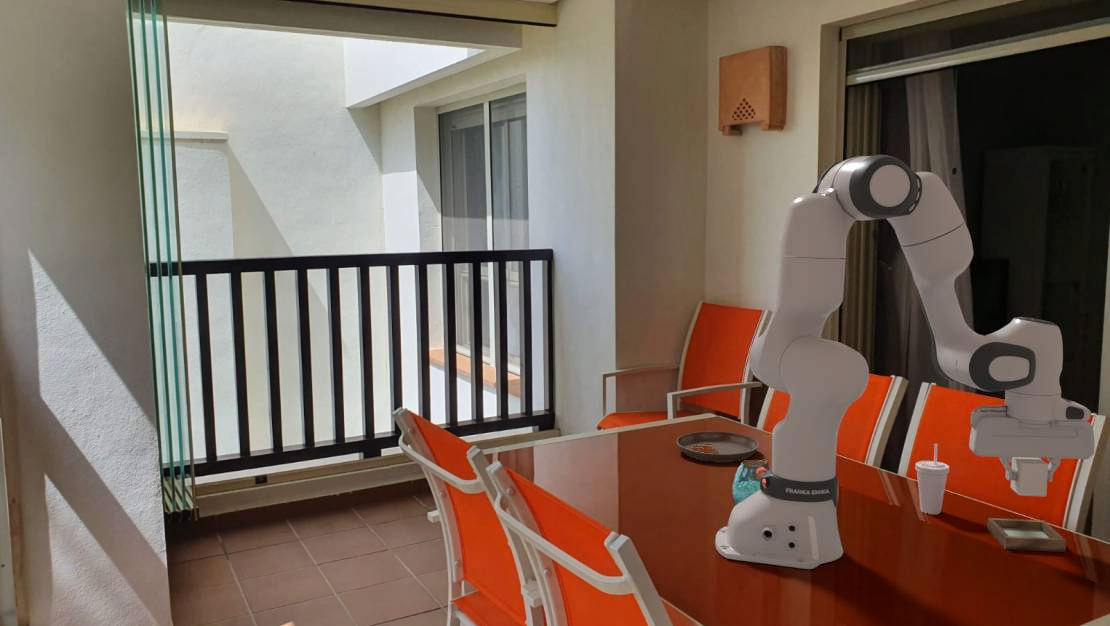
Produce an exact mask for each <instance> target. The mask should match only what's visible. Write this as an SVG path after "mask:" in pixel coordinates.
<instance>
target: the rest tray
mask: <svg viewBox="0 0 1110 626" xmlns="http://www.w3.org/2000/svg"><path fill="white" fill-rule="evenodd" d="M986 523H987V525H986V530H987V531H988V532H989V533H990V534H991V536H992V537H993V538H994V539H995V540H996V541H997V542H998V544H1000V545H1001V546H1002V548H1004V549H1005V550H1013V551H1014V550H1015V551H1034V552H1037V551H1038V552H1049V553H1050V552H1053V553H1054V552H1055V553H1066V551H1067V549H1066V548H1067V540H1066V538H1064V536H1062V535H1061V534H1060V533H1059V532H1058V531H1056V530H1055V529H1054V528H1053V527H1052V526H1051V525H1050V524H1049V523H1047V521H1045V520H1041V519H1040V520H1039V519H1016V518H1015V519H1014V518H998V517H997V518H994V517H987V522H986Z"/></svg>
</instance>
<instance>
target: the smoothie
mask: <svg viewBox="0 0 1110 626" xmlns="http://www.w3.org/2000/svg"><path fill="white" fill-rule="evenodd" d="M933 449H934V451H933V460H920V461H917V462H916V463H915V467H914V468H915V470H916V475H917V486H918V496H919V507H920V512H921V513H923V512H924V514H927V513H928V515H939V513H940V514H941V512H942V511H941V510H942V506H943V501H944V496H945V490H946V483H947V478H948V473H950V466H949V465H948V464H946V463H944V462H942V461H941V462H940V461H938V443H934V448H933Z"/></svg>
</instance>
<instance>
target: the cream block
mask: <svg viewBox="0 0 1110 626" xmlns="http://www.w3.org/2000/svg"><path fill="white" fill-rule="evenodd" d="M1048 465H1049V463H1047V462H1046V461H1044V460H1043V458H1028V457H1012V462H1011V469H1015V470H1016V471H1017V472H1018V475H1017V480H1010V488H1011V490H1013V491H1014V492H1015V494H1017V495H1019V496H1024V497H1026V496H1027V497H1028V496H1029V497H1047V490H1048V489H1047V488H1048V482H1047V473H1048Z"/></svg>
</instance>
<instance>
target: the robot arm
mask: <svg viewBox="0 0 1110 626" xmlns="http://www.w3.org/2000/svg"><path fill="white" fill-rule="evenodd" d="M784 220H785V221H784V225H783V230H782V235H781V241H780V242H781V243H780V253H779V255H780V256H779V267H778V269H779V270H778V280H777V291H776V292H777V293H776V299H775V304H774V307H773V311H772V313H771V317H770V319H769V322H768V324H767V326H766V328H765V330H764V331H763V333H762V334H761V335H760V336H759V337H757V339H755V341H754V342H753V344H752V345H751V347H750V350H749V354H748V365H749V366H748V367H749V369H750V371H751V373H752V374H753V375H754V377H755V378H756V379H757V380H759V381H760V382H761V383H763V384H765V385H766V386H767V387H769V388H771V389H773V390H776V391H779V392H782V393H786V394H789V395H790V396H789V397H790V400H789V405H788V409H787V411H786V412H787V413H786V415H785V417H784V419H781V420H780V421H778V422H777V423H776V424H775V426H774V427H773V429H772V433H771V435H772V436H771V437H772V438H771V468H770V469H767V468H765V467H763V466H760V467H758V468H757V469H756V472H755V474H756V477H757V479H758V480H759V489H758V490H757V491H755V492H753V493H752V494H751V495H749V496H747V498H745V499H743V500H742V501H740V502H738V503H736V504H735V506H734V507H733V508H732V509H731V512H730V515H729V518H728V522H727V526H723V527H722V528H720V529H719V530H718V531H717V533H716V534H715V541H714V545H715V548H716V550H717V552H718V554H720V555H721V556H722V557H724V558H725V559H728V560H729V559H730V560H735V561H743V562H751V563H757V564H758V563H759V564H767V565H774V566H781V567H788V568H789V567H790V568H797V569H803V570H805V569H806V570H812V569H816V568H817V567H818V566H820V565H821V564H827V563H829V562H833V561H837V560H838V559H840V558H841V557H842V556H843V554H844V549H843V545H842V542H841V538H840V537H841V536H840V532H839V527H838V518H837V506H838V501H839V480H838V479H839V477H838V475H837V473H836V469H837V467H836V466H837V463H836V462H837V447H838V446H837V445H838V444H837V443H838V435H839V430H840V426H841V423H842V421H843V419H844V416H845V413H846V412H847V410H848V408H849V407H850V406H851V405H852V404H853V403H854V402H856V401H857V400H859V399H860V398H861V397H862V395H863V394H864V392H865V391H866V389H867V386H868V383H869V378H870V369H869V365H868V362H867V360H866V359H865V357H864V356H863V355H862V353H860V352H859V351H857V350H856V349H854V348H852V347H850V346H848V345H846V344H844V343H842V342H839V341H837V340H836V341H835V340H832V339H827V338H822V334H823V329H824V327H825V324H826V322H827V320H828V318H829V316H830V315H831V314H832V313H833V312H835V311H836V310H837V309H839V308H840V306H841V304H842V303H843V300H844V288H845V272H846V258H847V240H848V236H849V233H850V230H851V228H852V226H853V225H854V224H855V222H856V221H873V220H887V221H888V222H889V223H890V224H889V225H891V227H892V228H893V229H894V231H895V234H896V236H897V240H898V242H899V245H900V248H901V249H902V252H903V254H904V257H905V259H906V262H907V264H908V266H909V269H910V272H911V274H912V279H913V283H914V286H915V289H916V293H917V296H918V299H919V300H918V301H919V303H920V305H921V308H922V311H923V313H924V317H925V321H926V323H927V326H928V329H929V334H930V339H931V343H930V344H931V347H930V349H931V351H930V356H931V357H930V358H931V361H932V366H933V367H934V369H935V371H936V373H938V375H940V376H941V377H942V378H943V379H945V380H947V381H950V382H954V383H958V384H963V385H966V386H969V387H971V388H974V389H977V390H981V391H983V392H989V393H990V392H991V393H995V392H996V393H997V392H1003V391H1004V393H1005V394H1004V405H979V407H976V408H974V409H973V410H972V411H971V413H970V422H969V423H970V427H971V430H970V435H969V443H968V446H969V450H971V452H972V453H973V454H974V455H976V456H977V457H994V458H995V457H997V458H999V461H1000V462H1001V464H1002V466H1003V467H1004V469H1005V479H1006V480H1007V481H1011V480H1017V475H1018V472H1017V471H1016V470H1015V469H1012V466H1011V465H1010V464H1012V457H1028V458H1040V459H1047V461H1048V462H1049V463H1048V473H1047V483H1048V482H1049V483H1050V482H1053V477H1054V476H1053V475H1054V473H1055V471H1056V470H1057V469H1058V467H1060V465H1061V459H1065V460H1066V459H1071V460H1072V459H1074V460H1075V459H1076V460H1089V459H1090V458H1091V457H1092V456H1093V455H1094V453H1095V434H1094V428H1093V426H1092V424H1091V423H1090V421H1089V420H1090V419H1091V410H1090V409H1088V407H1086V406H1085V405H1082V404H1080V403H1077V402H1076V401H1072V400H1070V399H1067V398H1064V397H1062V387H1061V385H1060V376H1061V373H1062V371H1063V361H1064V352H1063V351H1064V350H1063V349H1064V348H1063V347H1064V345H1063V336H1062V332H1061V329H1060V327H1059V326H1058V325H1057V324H1055V323H1054V322H1052V321H1048V320H1043V319H1037V318H1032V317H1026V316H1017V317H1014V318H1012V320H1011V321H1010V322H1009V323H1008V324H1006V325H1005V326H1003V327H1002V328H1000V329H998V330H996V331H994V332H992V333H989V334H985V335H983V334H979V333H977V332H976V331H974V330H973V329H972V328H971V327H970V326H969V325H968V324H967V322H966V321H965V318H964V314H963V311H962V309H961V305H960V303H959V300H958V297H957V293H956V290H955V281H956V279H957V277H959V276H960V275H961V274H963V273H964V271H966V270H967V268H968V267H969V265H970V264H971V262H972V260H973V257H974V248H973V241H972V238H971V234H970V231H969V228H968V227H967V225H966V224H967V223H966V221H965V219H964V217H963V215H962V211H961V210H960V209H959V206H958V204H957V202H956V201H955V199H954V197H953V195H952V194H951V192H950V190H949V189H948V187H947V186H946V184H945V183H944V181H943V180H942V178H941V177H939V176H938V175H937V174H936V173H933V172H929V171H916V172H915V171H913V170H912V169H911V168H910V167H909V166H908V165H907V164H906V163H905V162H904V161H902V160H901V159H899V158H897V157H895V156H892V155H886V154H876V155H858V156H855V157H854V156H853V157H851V158H847V159H844V160H840V161H837V162H835V163H833V164H832V165H830V166H829V167H828V168H827V169H826V170H824V171H823V173H822V174H821V176H820V177H819V179H818V181H817V184H816V186H815V187H814V188H813V190H812V192H811V193H807V194H803V195H801V196H799V197H796V198H795V199H794V200H792V201H791V202H790V205H789V206H788V209H787V212H786V216H785V219H784Z"/></svg>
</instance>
